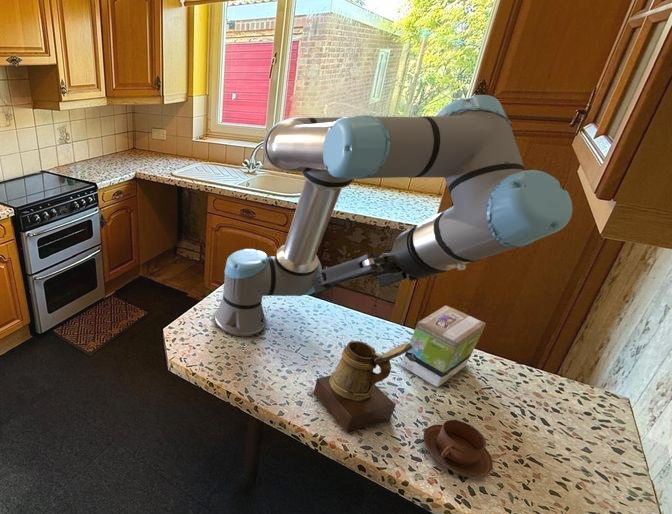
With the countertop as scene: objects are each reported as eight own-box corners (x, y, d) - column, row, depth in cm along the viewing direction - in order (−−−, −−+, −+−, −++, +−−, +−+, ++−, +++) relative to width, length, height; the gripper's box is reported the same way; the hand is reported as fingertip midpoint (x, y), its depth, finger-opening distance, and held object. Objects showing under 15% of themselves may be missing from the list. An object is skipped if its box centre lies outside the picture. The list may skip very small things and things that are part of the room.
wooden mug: (379, 420, 85) (403, 355, 77) (322, 384, 95) (337, 322, 86) (398, 400, 90) (422, 337, 82) (341, 367, 100) (358, 308, 91)
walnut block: (313, 393, 99) (317, 378, 96) (353, 383, 102) (358, 368, 99) (346, 432, 88) (351, 416, 86) (390, 420, 92) (396, 404, 89)
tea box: (438, 389, 100) (459, 342, 93) (399, 365, 108) (415, 321, 101) (466, 366, 107) (487, 322, 100) (428, 346, 115) (444, 303, 108)
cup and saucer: (484, 494, 76) (497, 473, 73) (414, 455, 83) (423, 435, 81) (493, 453, 84) (504, 433, 81) (428, 421, 91) (437, 401, 88)
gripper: (363, 280, 53) (292, 309, 73) (517, 264, 58) (410, 296, 78) (348, 228, 56) (283, 270, 76) (497, 216, 60) (399, 259, 80)
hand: (347, 283), depth 77 cm, fingers open, 13 cm apart
